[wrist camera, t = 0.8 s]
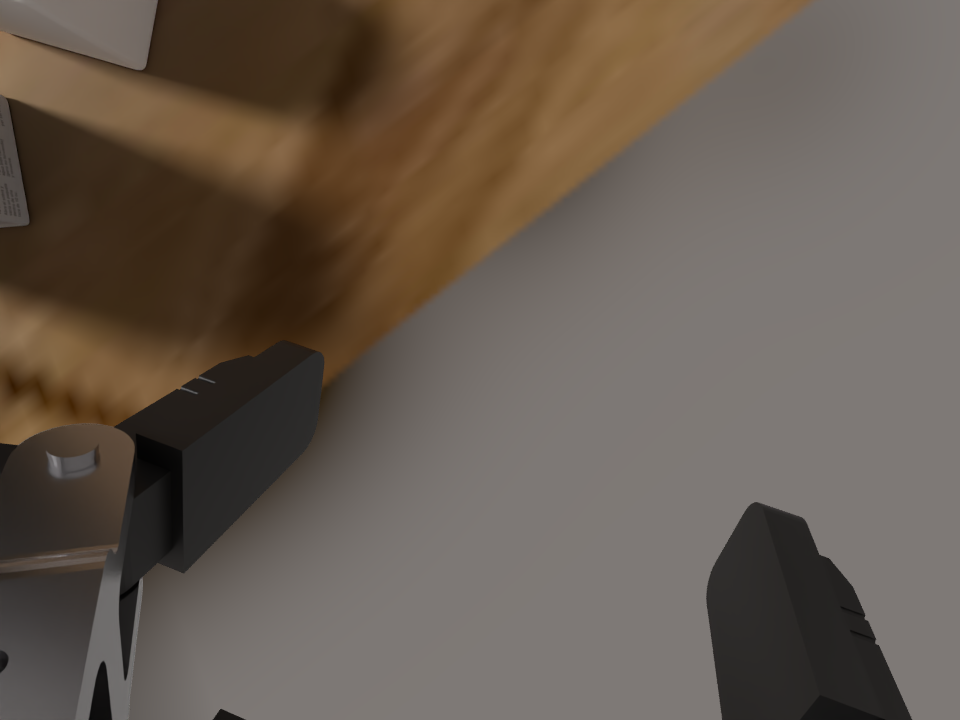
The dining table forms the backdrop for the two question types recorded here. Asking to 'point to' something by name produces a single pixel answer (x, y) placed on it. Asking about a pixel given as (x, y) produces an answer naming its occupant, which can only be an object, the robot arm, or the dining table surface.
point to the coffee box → (10, 174)
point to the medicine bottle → (86, 26)
